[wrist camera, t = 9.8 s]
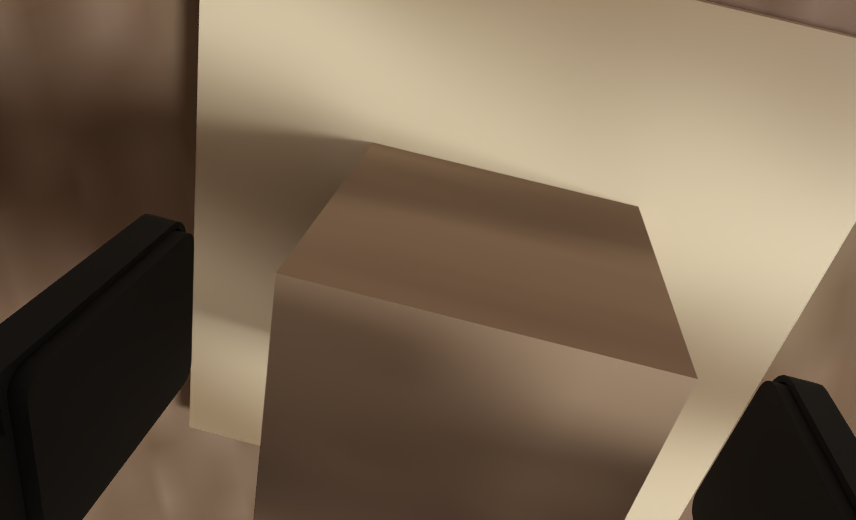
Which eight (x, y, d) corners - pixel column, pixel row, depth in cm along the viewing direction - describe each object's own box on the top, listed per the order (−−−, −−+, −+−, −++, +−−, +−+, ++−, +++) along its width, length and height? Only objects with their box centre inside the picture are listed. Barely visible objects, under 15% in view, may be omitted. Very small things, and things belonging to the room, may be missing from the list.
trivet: (218, -115, 11) (202, -116, 10) (930, 53, 10) (950, 60, 10) (200, 410, 17) (189, 427, 16) (654, 532, 16) (658, 552, 16)
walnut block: (372, 142, 12) (275, 272, 8) (638, 206, 12) (697, 378, 7) (339, 353, 14) (250, 545, 10) (558, 409, 14) (567, 630, 10)
